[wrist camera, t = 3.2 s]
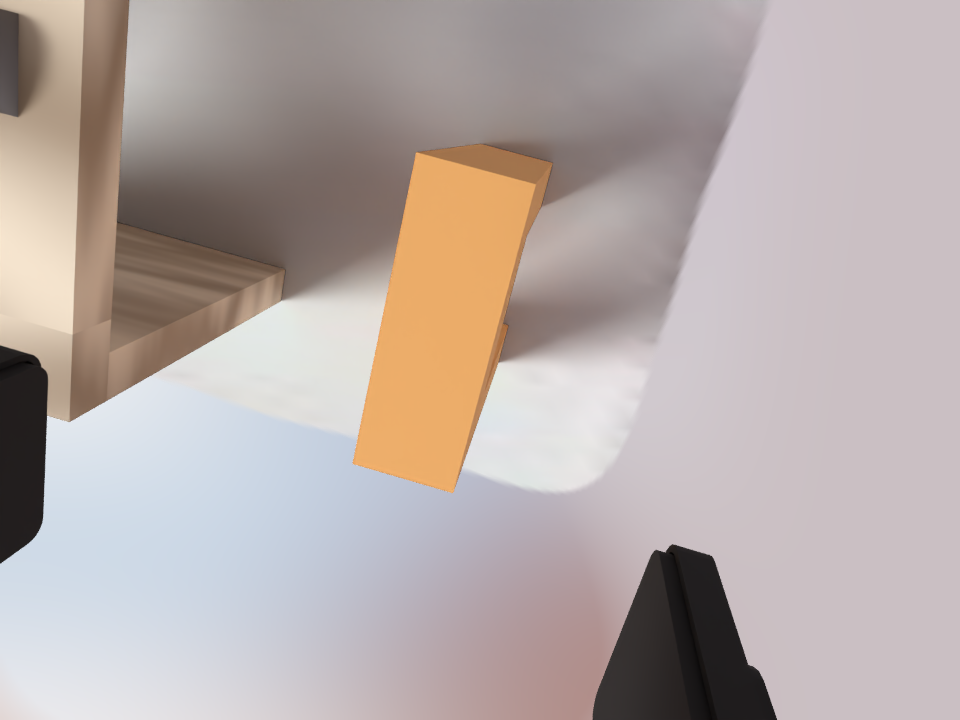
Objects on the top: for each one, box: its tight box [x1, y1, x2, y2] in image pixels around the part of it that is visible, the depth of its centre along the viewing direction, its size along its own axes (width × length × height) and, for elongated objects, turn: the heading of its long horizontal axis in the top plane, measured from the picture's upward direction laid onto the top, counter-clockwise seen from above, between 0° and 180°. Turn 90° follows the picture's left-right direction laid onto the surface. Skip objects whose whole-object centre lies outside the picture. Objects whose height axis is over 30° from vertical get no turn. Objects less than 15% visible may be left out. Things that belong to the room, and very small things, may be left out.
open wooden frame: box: [0, 0, 285, 422], centre depth 21 cm, size 17×14×14 cm
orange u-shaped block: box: [353, 144, 553, 493], centre depth 23 cm, size 9×3×12 cm, turn 166°
